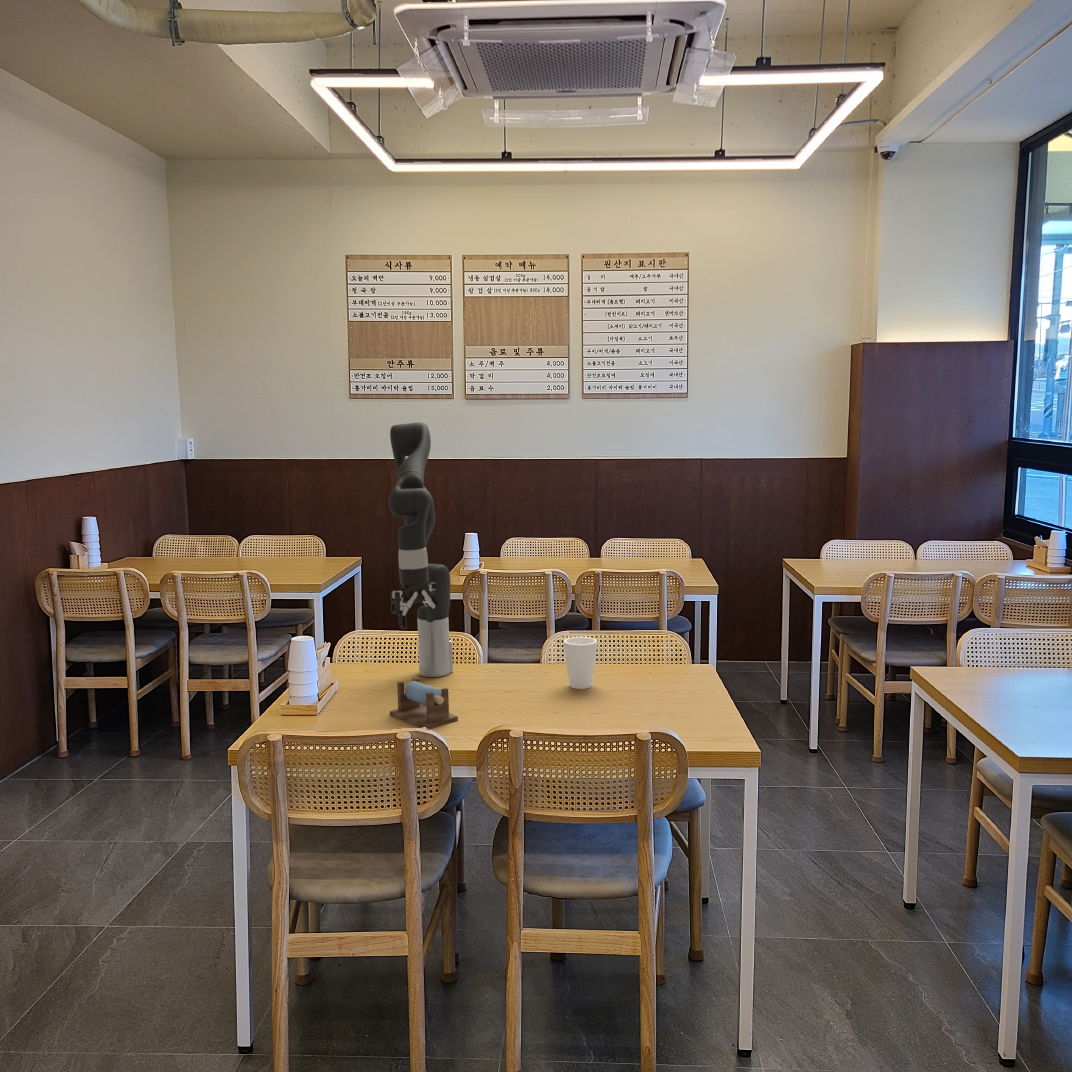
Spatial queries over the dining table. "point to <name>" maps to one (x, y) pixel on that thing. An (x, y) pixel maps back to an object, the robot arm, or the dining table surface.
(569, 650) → the foam cup
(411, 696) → the towel roll
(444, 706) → the roll holder
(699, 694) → the dining table surface
